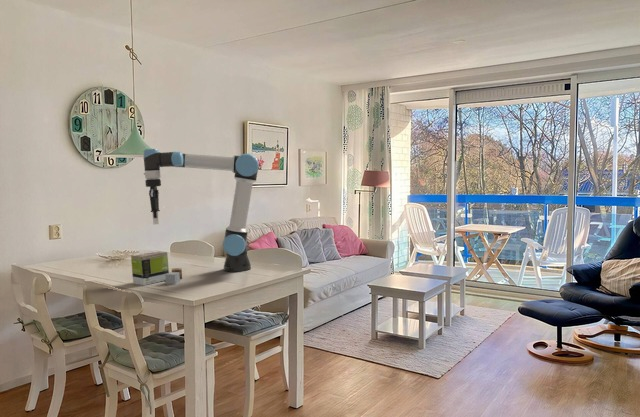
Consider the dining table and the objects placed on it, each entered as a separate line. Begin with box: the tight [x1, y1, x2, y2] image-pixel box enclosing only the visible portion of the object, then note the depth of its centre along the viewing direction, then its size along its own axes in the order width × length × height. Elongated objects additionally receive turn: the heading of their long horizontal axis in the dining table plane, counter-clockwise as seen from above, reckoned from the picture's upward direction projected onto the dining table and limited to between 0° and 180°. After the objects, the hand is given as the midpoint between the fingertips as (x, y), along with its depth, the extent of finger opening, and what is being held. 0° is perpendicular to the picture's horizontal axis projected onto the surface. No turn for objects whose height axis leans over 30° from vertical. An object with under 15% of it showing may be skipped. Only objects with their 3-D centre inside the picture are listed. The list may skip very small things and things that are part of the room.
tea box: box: [130, 250, 170, 286], centre depth 248 cm, size 15×10×15 cm
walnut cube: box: [171, 267, 183, 280], centre depth 254 cm, size 5×5×5 cm
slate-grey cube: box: [165, 271, 181, 285], centre depth 243 cm, size 5×5×5 cm
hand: (156, 224), depth 254 cm, fingers closed
